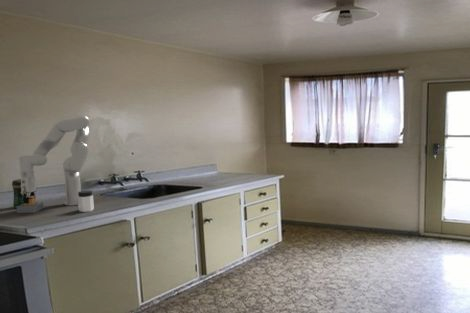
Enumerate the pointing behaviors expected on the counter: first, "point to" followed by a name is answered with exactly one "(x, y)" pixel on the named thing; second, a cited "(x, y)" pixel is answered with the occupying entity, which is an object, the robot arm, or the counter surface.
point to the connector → (31, 200)
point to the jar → (85, 201)
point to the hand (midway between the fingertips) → (29, 201)
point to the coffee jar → (17, 193)
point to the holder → (30, 208)
